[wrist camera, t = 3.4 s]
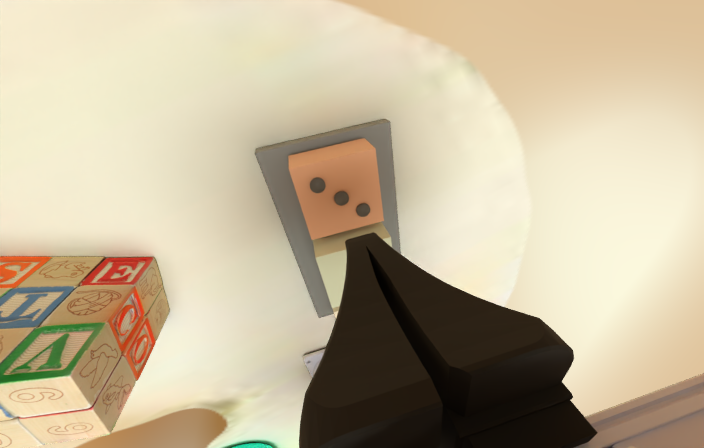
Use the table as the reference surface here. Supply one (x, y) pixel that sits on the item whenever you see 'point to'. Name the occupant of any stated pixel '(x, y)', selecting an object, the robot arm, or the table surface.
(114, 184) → the table surface
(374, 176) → the tile three
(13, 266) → the stack of blocks
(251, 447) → the donuts
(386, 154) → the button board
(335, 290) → the tile two
